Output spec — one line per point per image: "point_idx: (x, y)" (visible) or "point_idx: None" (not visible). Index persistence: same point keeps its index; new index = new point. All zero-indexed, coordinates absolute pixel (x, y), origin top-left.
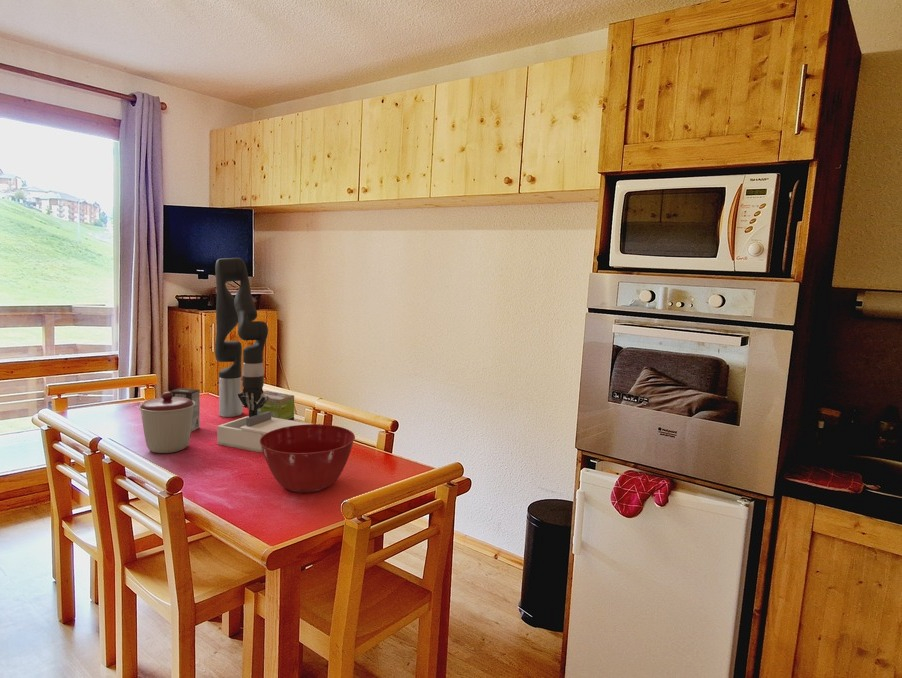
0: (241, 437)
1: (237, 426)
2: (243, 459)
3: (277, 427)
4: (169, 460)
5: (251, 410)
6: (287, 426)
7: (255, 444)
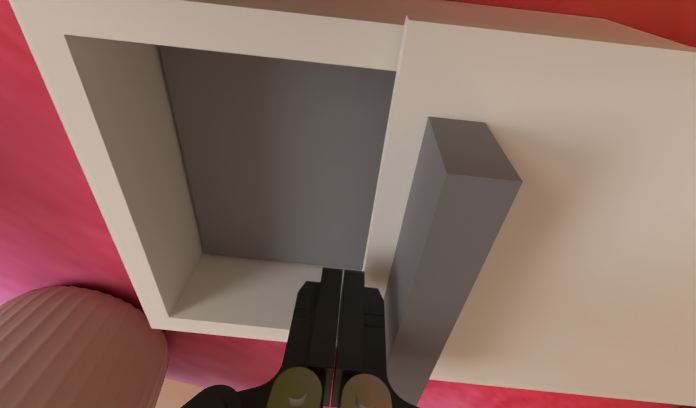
0: None
1: (154, 163)
2: None
3: (638, 322)
4: (220, 378)
5: (335, 404)
6: None
7: None
